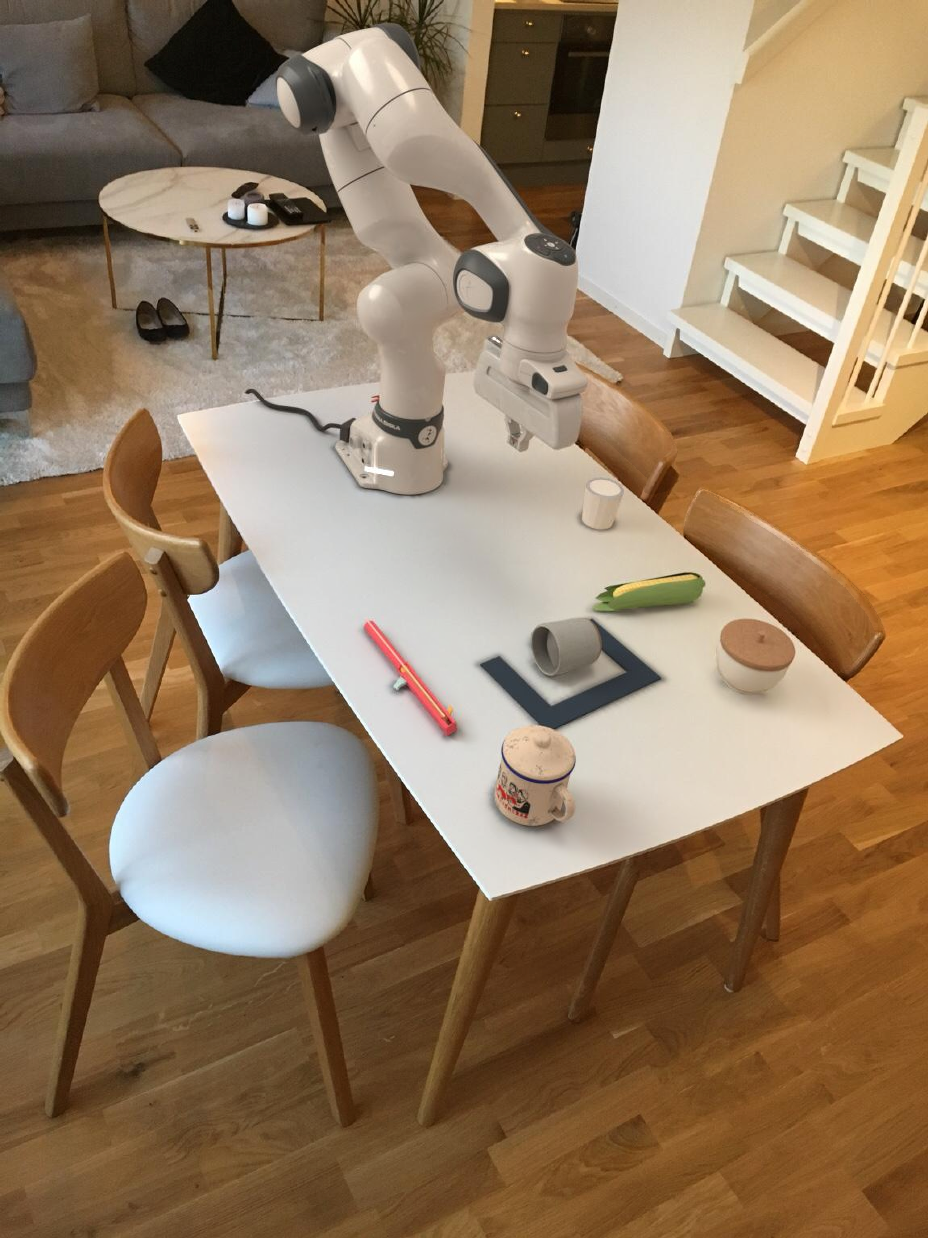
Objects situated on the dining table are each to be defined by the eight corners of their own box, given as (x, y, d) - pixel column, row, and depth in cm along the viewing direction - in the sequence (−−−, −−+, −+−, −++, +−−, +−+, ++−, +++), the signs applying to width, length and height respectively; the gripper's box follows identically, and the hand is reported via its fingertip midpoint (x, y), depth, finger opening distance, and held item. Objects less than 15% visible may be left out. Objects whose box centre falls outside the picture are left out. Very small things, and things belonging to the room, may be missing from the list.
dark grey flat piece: (480, 665, 145) (480, 663, 145) (591, 619, 156) (592, 618, 156) (547, 732, 136) (547, 730, 136) (661, 679, 147) (661, 677, 147)
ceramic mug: (600, 672, 147) (610, 631, 142) (554, 687, 143) (563, 646, 138) (559, 630, 154) (568, 590, 149) (515, 643, 150) (522, 602, 145)
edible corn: (707, 605, 163) (714, 583, 160) (597, 621, 156) (603, 598, 154) (691, 586, 167) (698, 564, 164) (584, 601, 160) (589, 578, 157)
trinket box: (709, 698, 145) (727, 649, 139) (705, 651, 154) (722, 603, 148) (782, 711, 145) (804, 663, 139) (775, 663, 153) (794, 616, 147)
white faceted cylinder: (574, 524, 177) (581, 491, 173) (583, 506, 182) (590, 473, 178) (611, 535, 176) (620, 501, 171) (619, 516, 181) (627, 483, 177)
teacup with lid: (478, 789, 127) (490, 724, 119) (534, 763, 131) (549, 700, 124) (535, 857, 119) (551, 792, 112) (592, 827, 124) (612, 763, 117)
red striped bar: (435, 744, 133) (465, 726, 134) (433, 735, 131) (462, 717, 133) (353, 637, 148) (380, 622, 149) (349, 628, 146) (377, 612, 148)
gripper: (469, 332, 143) (458, 419, 152) (561, 394, 131) (543, 484, 140) (504, 326, 146) (491, 411, 155) (596, 385, 134) (577, 474, 143)
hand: (517, 446), depth 147 cm, fingers closed
